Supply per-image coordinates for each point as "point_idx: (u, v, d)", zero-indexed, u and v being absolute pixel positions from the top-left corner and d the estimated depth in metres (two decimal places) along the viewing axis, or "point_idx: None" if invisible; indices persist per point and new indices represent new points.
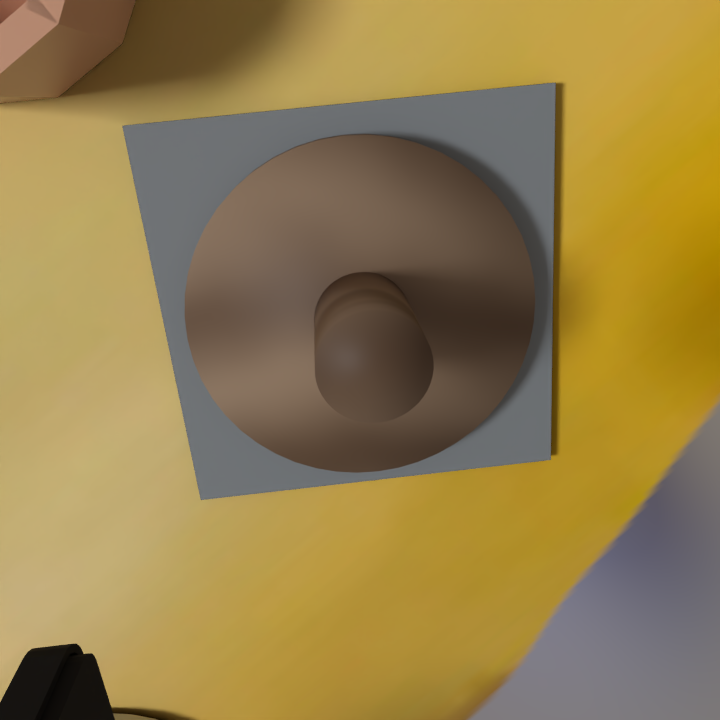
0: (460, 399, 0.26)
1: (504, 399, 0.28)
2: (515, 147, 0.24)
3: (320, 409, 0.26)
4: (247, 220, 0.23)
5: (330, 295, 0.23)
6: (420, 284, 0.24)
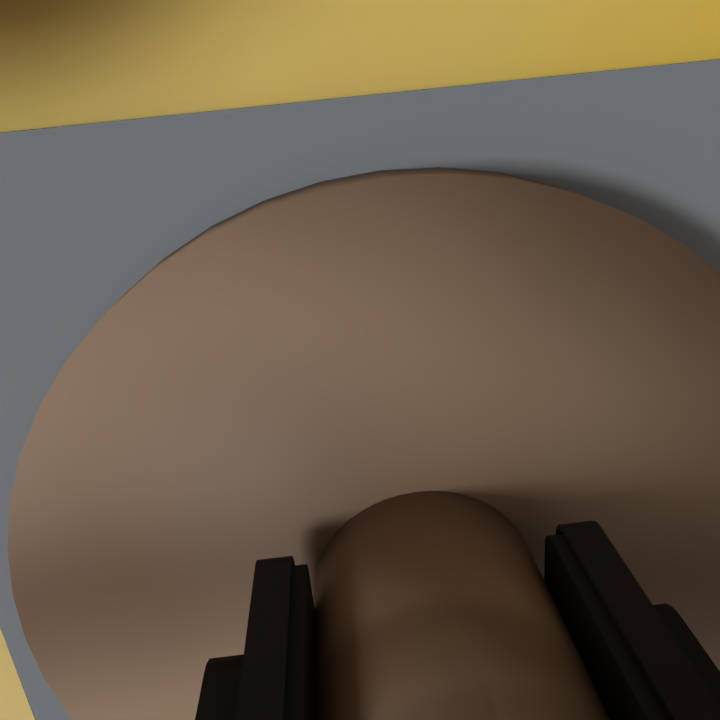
0: None
1: None
2: None
3: None
4: (145, 386, 0.09)
5: (353, 580, 0.09)
6: (558, 511, 0.11)
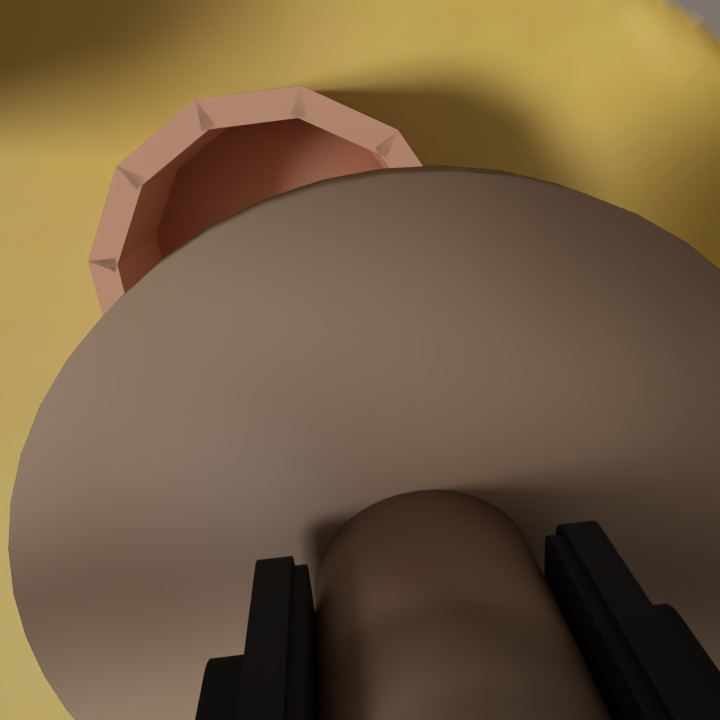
0: None
1: None
2: None
3: None
4: (146, 385, 0.09)
5: (354, 579, 0.09)
6: (559, 510, 0.11)
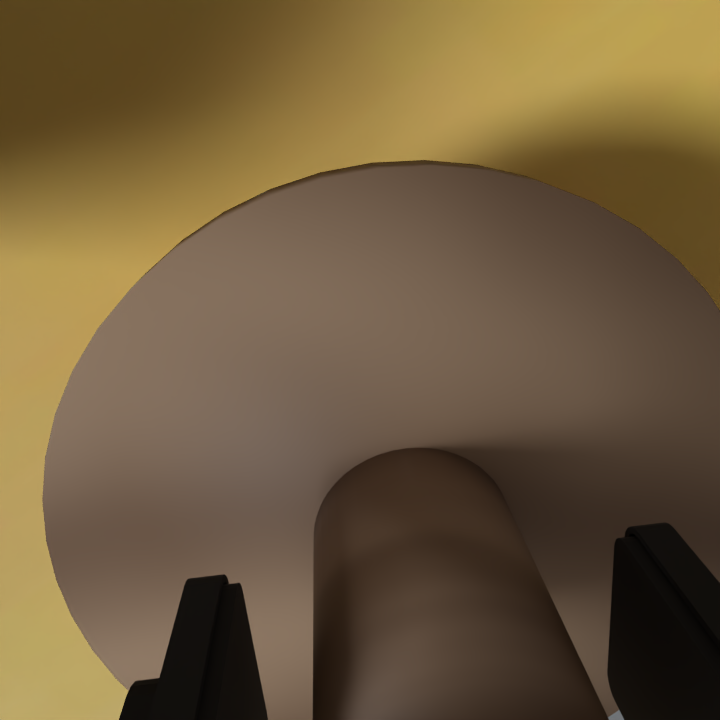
0: (596, 664, 0.14)
1: None
2: None
3: None
4: (166, 352, 0.11)
5: (348, 520, 0.10)
6: (531, 467, 0.12)
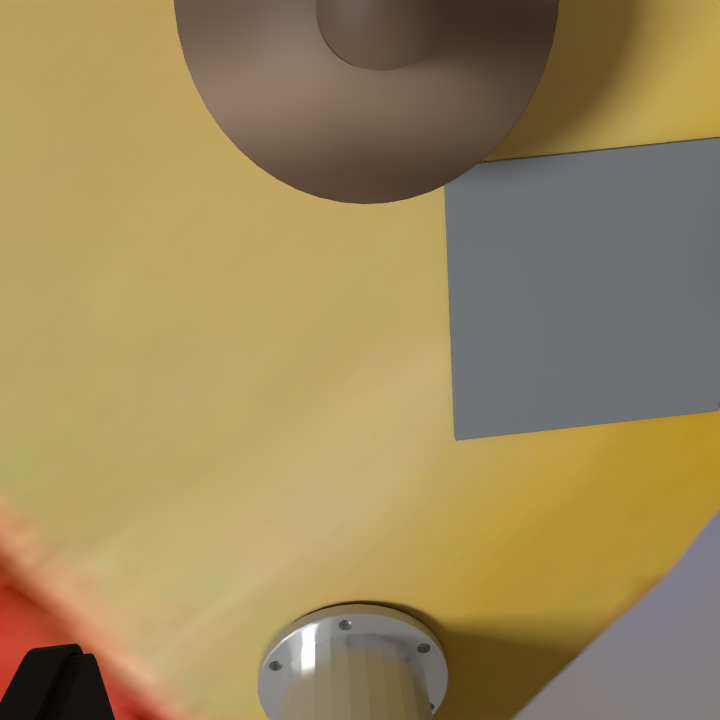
0: (475, 114, 0.24)
1: (690, 365, 0.37)
2: None
3: (324, 124, 0.24)
4: None
5: None
6: None
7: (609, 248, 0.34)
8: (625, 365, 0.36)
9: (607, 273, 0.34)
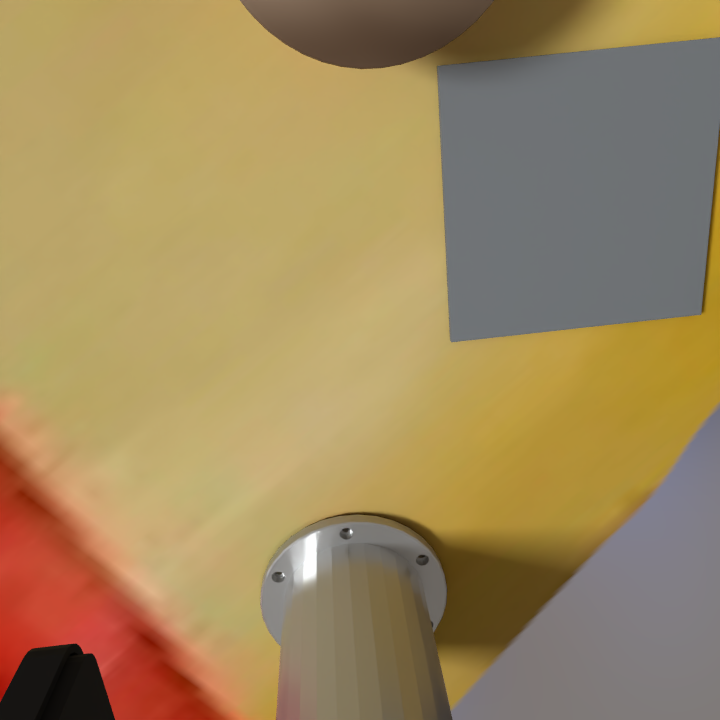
0: None
1: (672, 267, 0.39)
2: (697, 81, 0.35)
3: None
4: None
5: None
6: None
7: (592, 147, 0.36)
8: (611, 266, 0.38)
9: (591, 172, 0.36)
